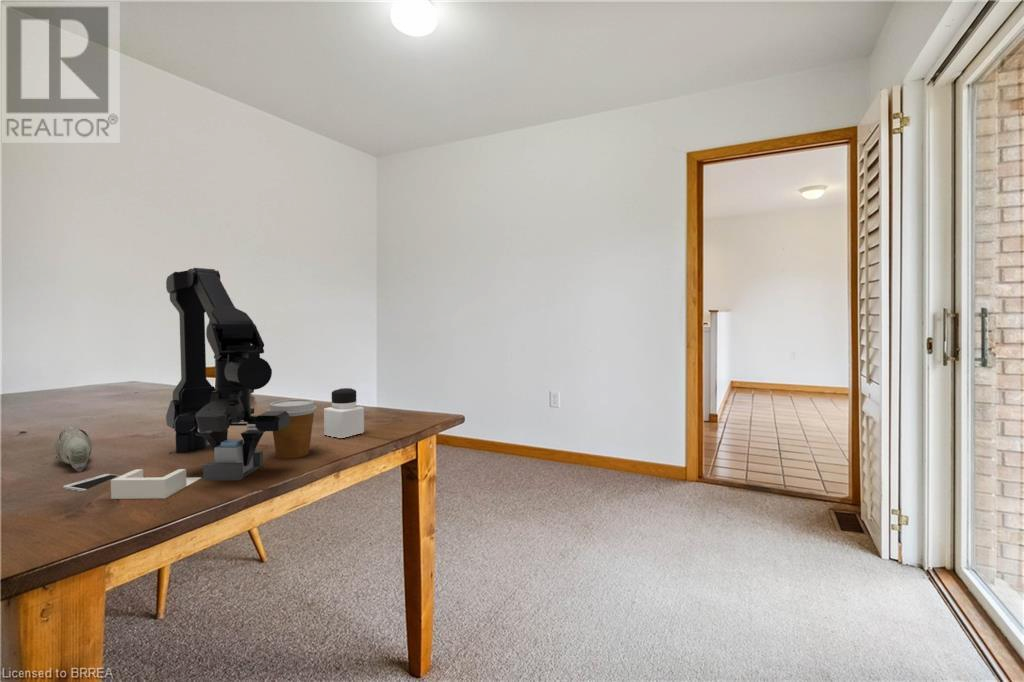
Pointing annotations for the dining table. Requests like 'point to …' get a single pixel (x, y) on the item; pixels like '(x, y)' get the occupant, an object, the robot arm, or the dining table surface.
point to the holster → (230, 469)
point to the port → (149, 485)
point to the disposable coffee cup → (294, 428)
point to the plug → (231, 453)
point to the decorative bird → (73, 446)
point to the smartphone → (89, 482)
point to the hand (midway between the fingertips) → (234, 465)
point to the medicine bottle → (343, 415)
